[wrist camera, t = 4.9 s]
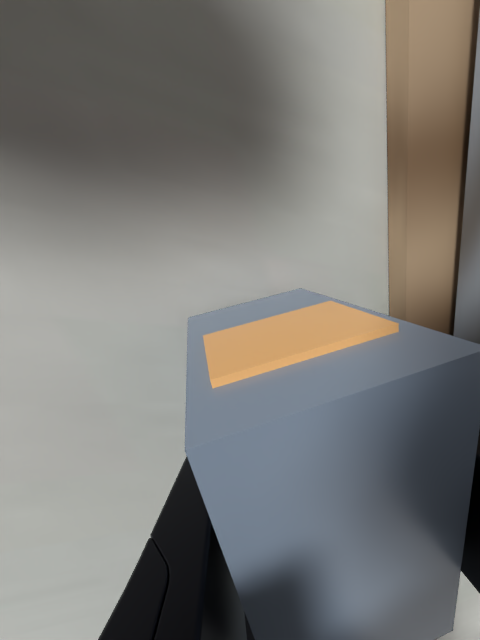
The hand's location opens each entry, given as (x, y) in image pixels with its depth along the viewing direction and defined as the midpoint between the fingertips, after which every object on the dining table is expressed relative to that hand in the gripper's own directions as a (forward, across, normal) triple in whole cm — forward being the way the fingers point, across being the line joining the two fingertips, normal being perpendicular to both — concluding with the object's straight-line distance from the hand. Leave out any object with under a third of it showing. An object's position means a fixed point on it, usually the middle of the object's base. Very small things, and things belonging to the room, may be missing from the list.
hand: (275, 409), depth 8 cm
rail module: (+1, 0, 0) cm, 1 cm away
